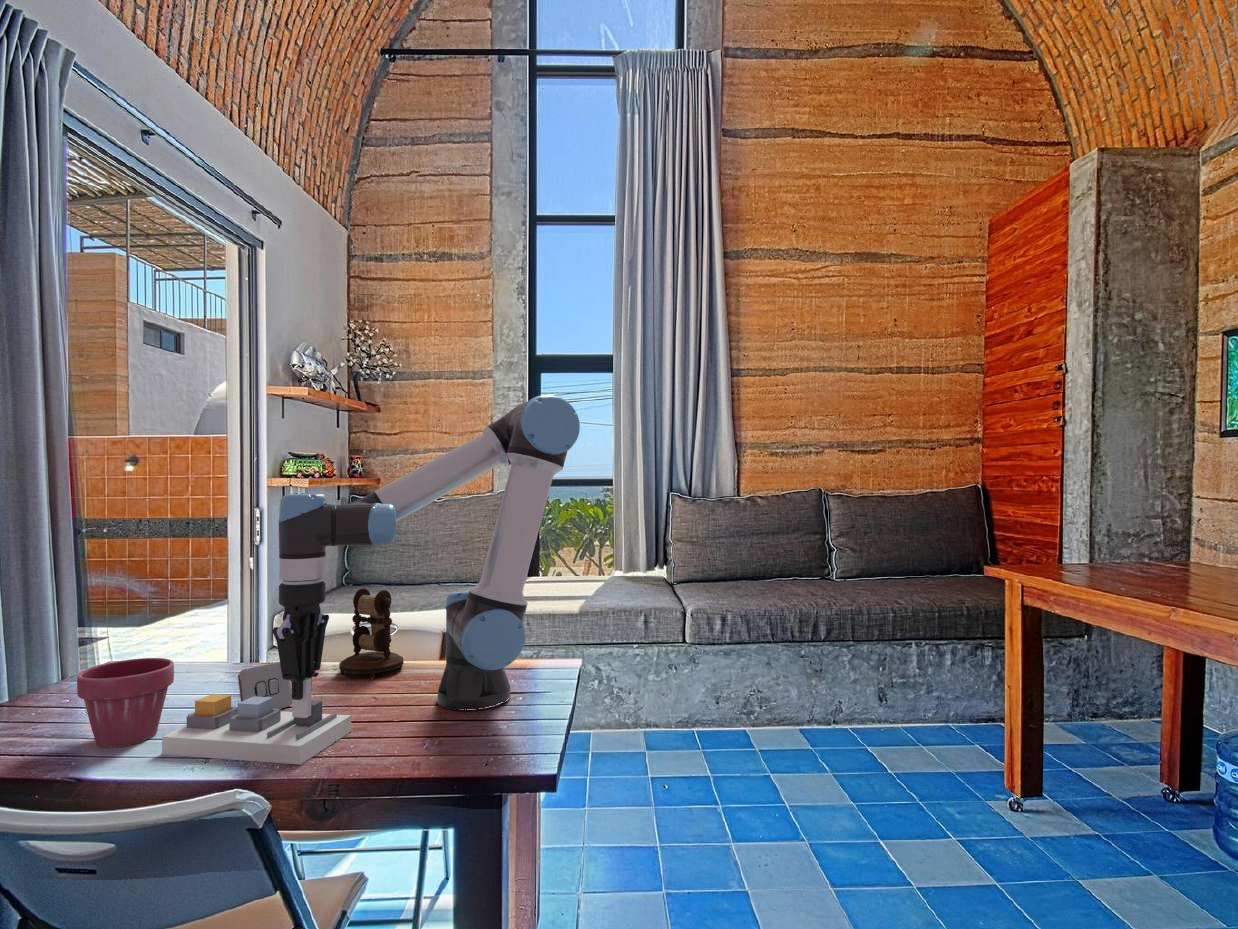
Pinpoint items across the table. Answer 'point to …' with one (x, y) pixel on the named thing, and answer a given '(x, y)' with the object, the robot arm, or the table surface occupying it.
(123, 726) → the plant pot
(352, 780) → the table surface
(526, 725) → the table surface
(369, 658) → the brown spool stand
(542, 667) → the table surface
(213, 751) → the switch panel
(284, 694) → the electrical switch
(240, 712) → the grey button
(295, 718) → the slide switch
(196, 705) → the orange button
